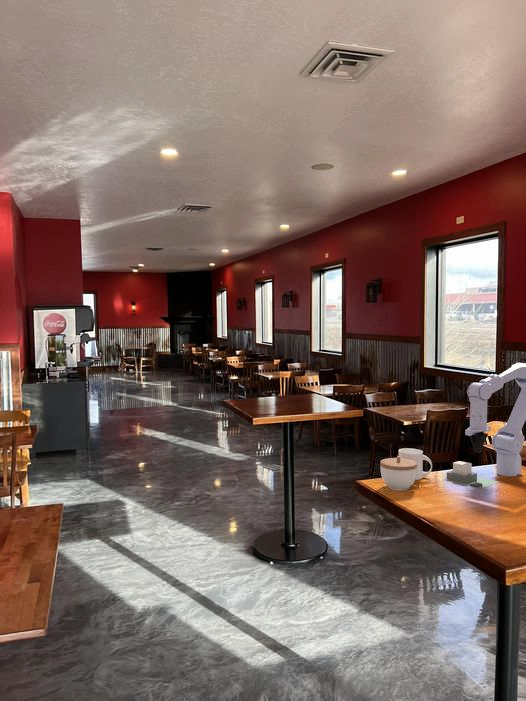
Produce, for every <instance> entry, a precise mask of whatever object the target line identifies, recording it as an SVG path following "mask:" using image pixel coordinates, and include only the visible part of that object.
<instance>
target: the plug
mask: <svg viewBox="0 0 526 701" xmlns="http://www.w3.org/2000/svg"><path fill="white" fill-rule="evenodd" d="M472 465H473V464H472V463H471V462H465V461H460V460H458V461H455V462H453V463H452V470H453V473H456V474H460V475H465V476H467V475H470V474H472V472H473V470H472V468H473V467H472Z"/></svg>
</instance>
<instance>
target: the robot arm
mask: <svg viewBox="0 0 526 701" xmlns="http://www.w3.org/2000/svg"><path fill="white" fill-rule="evenodd" d="M513 380H515V382H516V383H517V385H518V387H520V388H521V389H520V392H519V395H518V397H517V399H516V401H515V403H514V406H513V408H512V410H511V413H510V415H509V418H508V419H507V421H506V425H504V426H502V427H500V428H499V429H498V430H497V432H496V433H495V434H494V435H493V437H492V439H491V445H492V447H493V448H494V449H495V450H494V451H495V452H496V471H495V472H496V474H497V475H500V476H502V477H503V476H504V477H516V476H517V475H522V476H524V474H523V473H522V456H521V455H520V453H521V452H522V450H523V447H524V441H525V436H524V435H523V433H522V432H521V431H522V429H523V426H524V424H525V422H526V363H525V362H524V363H522V362H516V363H515V364H511V367H509V368H508V369H507V370H505V371H503V372H502V373H500V374H493V373H491V374H489V375H488V377H486V378H484V379H481V380H479V382H472V383H471V384H470V385H469V386H468V388H467V390H466V394H467V396H468V399H469V400H468V401H469V402H470V404H469V405H470V406H469V407H470V408H469V410H470V412H469V413H470V414H469V427H467V429H465V430H464V431H465V432H464V433H465V434H464V435H465V436H468V438H469V439H470V442H471V446H472V449H473V453H475V454H481V453H482V451H483V448H484V447H483V446H484V444H485V442H486V440H487V438H488V437H489V434H488V433H486V432H491V425H487V424H488V400H489V399H490V398H491V396H492V395H493V394H494V393H496V392H497V391H499V390H501V389H503V387H504V384H506V383H509V382H510V381H513Z"/></svg>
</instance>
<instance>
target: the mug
mask: <svg viewBox="0 0 526 701" xmlns="http://www.w3.org/2000/svg"><path fill="white" fill-rule="evenodd" d="M423 453H424V451H423V450H421V449H416V448H410V447H409V448H407V447H405V448H399V449H398V456H400V458H403V459H409V460H413V461H415V462H416V463H417V473H416V478H415V481H417V480H422V479H423V477H427V476H428V475H430V473H431V472H432V471H433V470H432V469H433V462H432V460H431V459H430V458H429V457H428V456H427V455H425V454H423ZM424 461H427V462H428V463H429V464H430V469H429V470H428V471H424V470H423V465H424V464H423V462H424Z"/></svg>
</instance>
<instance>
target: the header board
mask: <svg viewBox="0 0 526 701" xmlns="http://www.w3.org/2000/svg"><path fill="white" fill-rule="evenodd" d="M442 481H446V482H451V483H455V484H459V485H464V486H467V487H472V488H477V489H480V490H482V489H485V488H487V487H490V486H493V485H495V484H498V483H500V481H498V480H494V479H489V478H484V477H479V476H478V472H473V471H472V474H470V475H467V476H465V475H460V474H456V473H453V469H451V470H448V471H446V477H445V478H442Z"/></svg>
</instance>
